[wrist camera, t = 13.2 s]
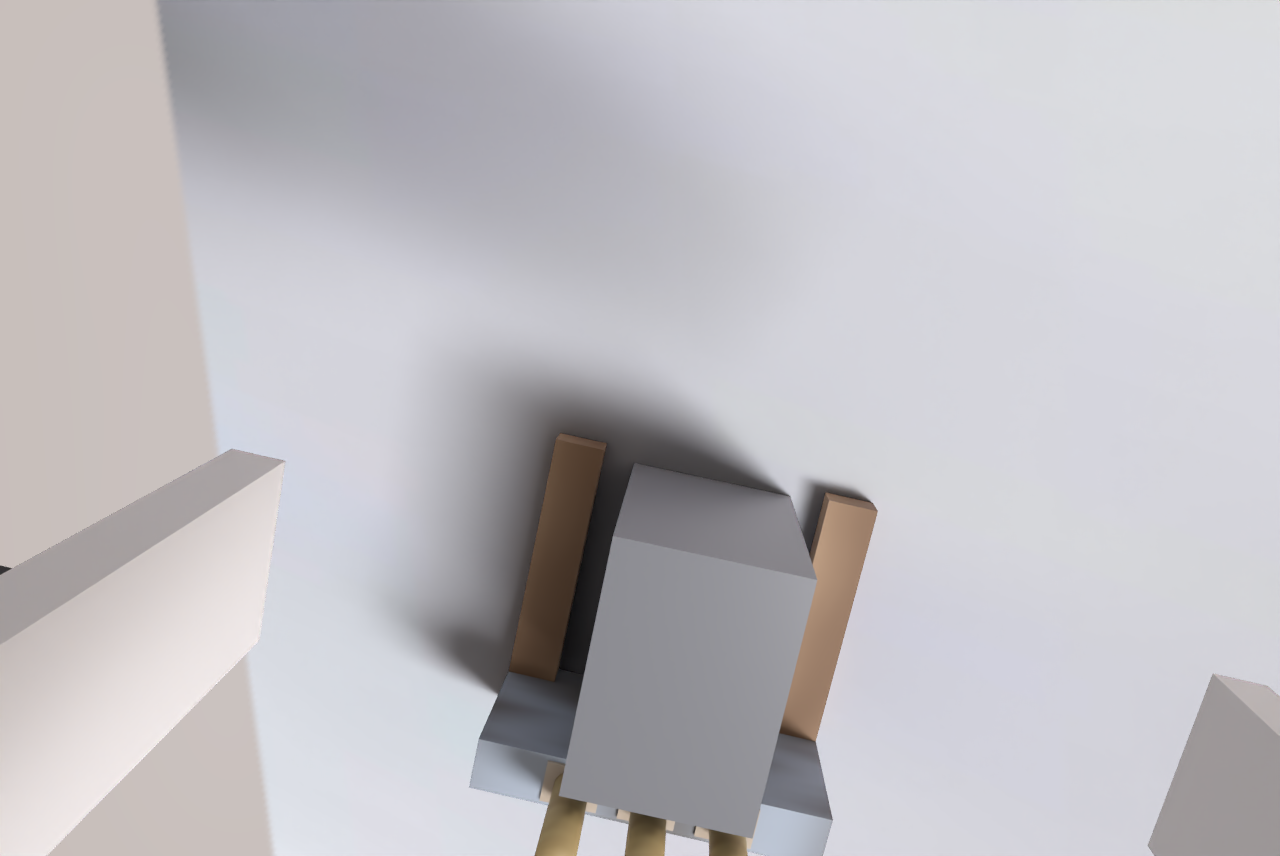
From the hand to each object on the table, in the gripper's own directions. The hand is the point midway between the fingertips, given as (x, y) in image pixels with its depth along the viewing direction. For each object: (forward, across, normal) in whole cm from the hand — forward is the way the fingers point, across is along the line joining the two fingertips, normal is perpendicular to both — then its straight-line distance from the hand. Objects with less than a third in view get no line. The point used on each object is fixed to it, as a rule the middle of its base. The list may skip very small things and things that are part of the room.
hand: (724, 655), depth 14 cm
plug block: (+18, +1, -6) cm, 19 cm away
